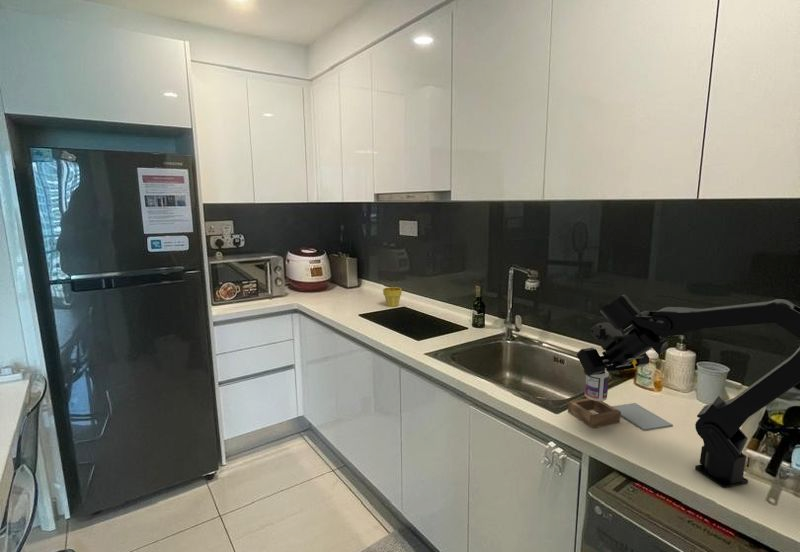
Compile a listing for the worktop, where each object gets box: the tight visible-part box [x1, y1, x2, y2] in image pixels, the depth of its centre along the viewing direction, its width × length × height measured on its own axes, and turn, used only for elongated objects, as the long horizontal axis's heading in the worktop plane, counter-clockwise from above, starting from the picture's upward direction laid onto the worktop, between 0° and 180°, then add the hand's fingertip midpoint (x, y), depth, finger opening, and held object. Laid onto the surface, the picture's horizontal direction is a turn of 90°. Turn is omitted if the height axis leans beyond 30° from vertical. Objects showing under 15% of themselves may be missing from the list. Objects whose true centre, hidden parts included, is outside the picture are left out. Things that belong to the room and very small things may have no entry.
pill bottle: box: [584, 370, 610, 402], centre depth 106 cm, size 5×5×10 cm
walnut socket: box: [567, 397, 621, 429], centre depth 108 cm, size 9×9×3 cm
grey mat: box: [611, 402, 674, 432], centre depth 108 cm, size 12×9×1 cm
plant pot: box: [382, 286, 402, 308], centre depth 228 cm, size 10×10×10 cm
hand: (593, 371), depth 107 cm, fingers closed on pill bottle, 5 cm apart
